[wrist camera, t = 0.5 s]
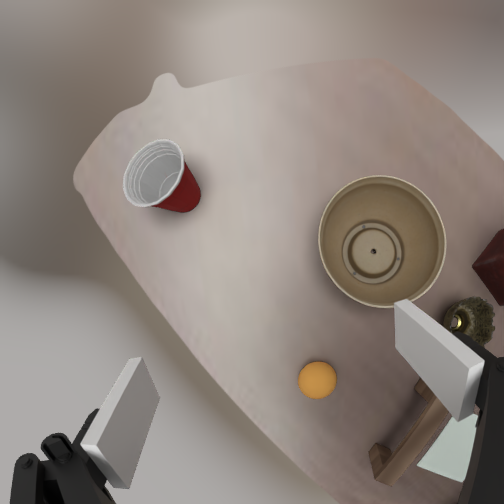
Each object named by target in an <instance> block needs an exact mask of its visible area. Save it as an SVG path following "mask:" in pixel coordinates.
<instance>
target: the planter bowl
mask: <svg viewBox="0 0 504 504" xmlns="http://www.w3.org/2000/svg"><path fill="white" fill-rule="evenodd" d="M318 245H319V252H320V256H321V260H322V263H323V265H324V268H325V270H326V272H327V274H328V275H329V277H330V278H331V280H332V281H333V282H334V284H335V285H336V286H337V287H338V288H339V289H340V290H341V291H342V292H343V293H344V294H346V295H347V296H348V297H350V298H351V299H353V300H355V301H357V302H359V303H361V304H364V305H367V306H371V307H376V308H394V303H395V302H398V301H401V300H405V299H408V300H409V301H410V302H413V301H415V300H417V299H418V298H420V297H421V296H422V295H424V294H425V293H426V292H427V291H428V290H429V289H430V288H431V287H432V285H433V284H434V283H435V281H436V280H437V278H438V276H439V274H440V272H441V270H442V267H443V264H444V260H445V255H446V234H445V229H444V225H443V222H442V219H441V217H440V215H439V213H438V211H437V209H436V207H435V206H434V204H433V203H432V201H431V200H430V199H429V198H428V197H427V196H426V195H425V194H424V193H423V192H422V191H421V190H420V189H419V188H417V187H416V186H414V185H412V184H411V183H409V182H407V181H405V180H402V179H399V178H396V177H392V176H385V175H374V176H367V177H363V178H360V179H357V180H354V181H352V182H350V183H349V184H347V185H346V186H344V187H343V188H341V189H340V190H339V191H338V192H337V193H336V194H335V195H334V196H333V197H332V199H331V200H330V201H329V203H328V204H327V206H326V208H325V210H324V212H323V214H322V217H321V221H320V225H319V232H318ZM372 249H375V250H376V253H375V254H373V253H371V250H372Z"/></svg>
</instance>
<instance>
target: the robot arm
mask: <svg viewBox="0 0 504 504" xmlns="http://www.w3.org/2000/svg"><path fill="white" fill-rule="evenodd" d="M394 313H395V348H396V349H397V350H398V351H399V353H400V354H401V355H402V356H403V357H404V358H405V360H406V361H407V362H408V363H409V364H410V365H411V367H412V368H413V369H414V370H415V371H416V372H417V374H418V375H419V376H420V377H421V378H422V380H423V381H424V382H425V383H426V384H427V385H428V387H429V388H430V389H431V390H432V391H433V393H434V394H435V395H436V396H437V398H438V399H439V400H440V401H441V402H442V404H443V405H444V406H445V407H446V408H447V410H448V411H449V412H450V413H451V415H452V416H453V417H454V418H455V420H456V421H457V422H459V421H461V420H463V419H465V418H467V417H469V416H471V415H472V414H473V410H474V407H475V404H476V405H477V406H478V407H479V408H480V411H479V415H478V418H477V421H476V425H475V427H476V433H475V438H474V443H473V448H472V453H471V457H470V462H469V466H468V470H467V473H466V477H465V481H464V484H463V488H462V491H461V495H460V498H459V501H458V504H504V357H499V358H497V357H495V356H494V355H493V354H491V353H490V352H489V351H488V350H486V349H485V348H484V347H483V346H481V345H479V343H477V342H476V341H474V340H473V339H472V338H471V337H470V336H468V335H467V334H464V333H461V332H458V331H457V332H455V333H453V334H451V333H450V332H449V331H448V330H446V329H445V328H444V327H443V326H441V325H440V324H439V323H437V322H436V321H435V320H434V319H432V318H431V317H430V316H428V315H427V314H426V313H425V312H423V311H422V310H421V309H419V308H418V307H417V306H415V305H414V304H413V303H412V302H410V301H409V300H408V299H405V300H401V301H398V302H395V303H394ZM159 399H160V396H159V394H158V392H157V390H156V388H155V385H154V383H153V381H152V379H151V376H150V374H149V372H148V369H147V367H146V365H145V363H144V360H143V358H142V357H138V358H130V359H129V360H128V362H127V364H126V366H125V367H124V369H123V370H122V372H121V374H120V376H119V377H118V379H117V380H116V382H115V384H114V386H113V387H112V389H111V391H110V392H109V394H108V396H107V397H106V399H105V401H104V403H103V405H102V406H101V408H100V409H95V410H94V411H93V412H92V413H91V414H90V415H89V416H88V418H87V419H86V421H85V424H83V426H82V428H81V430H80V431H79V433H78V435H77V436H76V438H75V440H74V441H73V443H72V444H71V442H70V441H69V439H68V438H67V436H66V435H65V434H63V433H55V434H51V435H50V436H48V437H46V438H45V439H44V440H43V442H42V444H41V450H42V451H43V452H44V454H45V455H46V456H47V458H48V459H49V460H47V461H40V460H39V459H38V457H37V456H36V455H35V454H33V453H27V454H24V455H22V456H20V457H19V459H18V460H17V461H16V463H15V467H14V474H13V481H12V488H11V497H10V504H116V503H115V501H114V500H113V498H112V496H111V494H110V493H109V491H108V490H107V488H106V487H105V483H106V480H108V481H109V483H110V484H111V485H112V486H113V487H114V488H123V489H129V488H130V485H131V482H132V479H133V476H134V473H135V470H136V467H137V464H138V461H139V458H140V454H141V452H142V449H143V446H144V443H145V440H146V437H147V434H148V431H149V428H150V425H151V422H152V420H153V417H154V414H155V411H156V408H157V406H158V403H159Z"/></svg>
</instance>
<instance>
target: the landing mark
mask: <svg viewBox="0 0 504 504" xmlns="http://www.w3.org/2000/svg"><path fill="white" fill-rule="evenodd" d="M477 418H478V415H476V414H474V413H473V414H472V415H471V416H469V417H467V418H465V419H463V420H461V421H459V422H457V421H456V420H455V418H454V417H453V416H452V417H451V419H450V420H449V422H448V423H447V425H446V426H445V428H444V429H443V430H442V432H441V433H440V435H439V436H438V438H437V439H436V440H435V442H434V443H433V444H432V446H431V447H430V448H429V450H428V451H427V452H426V454H425V455H424V456H423V458H422V459H421V460H420V461H419V463H418V464H417V466H419V467H421V468H424V469H426V470H429V471H432V472H434V473H437V474H440V475H442V476H445V477H448V478H451V479H454V480H456V481H459V482H463V480H464V479H465V477H466V473H467V470H468V466H469V462H470V457H471V453H472V448H473V443H474V438H475V433H476V427H475V425H476V421H477Z"/></svg>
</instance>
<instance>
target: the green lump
mask: <svg viewBox="0 0 504 504" xmlns="http://www.w3.org/2000/svg"><path fill="white" fill-rule="evenodd" d="M486 302H487V300H485V299H481V298H480V297H470V298H467V299H464V300H462V301H459V302H457V303H455V304H454V305H453V306H452V307H450V309H449V310H448V311H447V313H446V315H445V318H444V323H443V327H444V328H445V329H446V330H448V331H449V332H450V333H451V334H453V333H455V332H457V331H458V332H461V333H464V334H467V335H468V336H470V337H471V338H472V339H473V340H474V341H476V342H477V343H479V345H481V346H483V347H484V344H486V343H488V342H489V341H490V340H491V339H492V334H493V331H494V330H495V326H493V325H492V322H493V316H495V314H494V313H493V306H492V305H490V304H488V303H486ZM454 317H456V318H457V319H458V324H457V326H456V327H451V322H452V320H453V318H454Z"/></svg>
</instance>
